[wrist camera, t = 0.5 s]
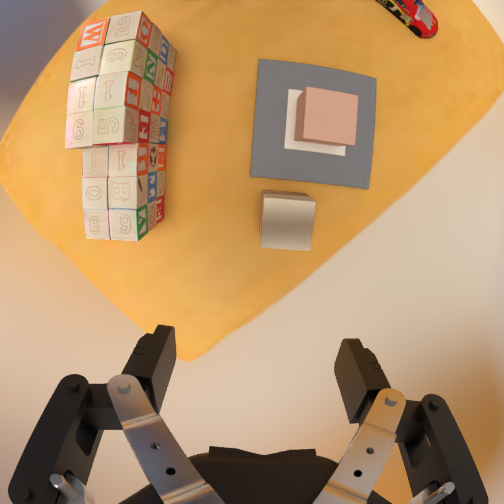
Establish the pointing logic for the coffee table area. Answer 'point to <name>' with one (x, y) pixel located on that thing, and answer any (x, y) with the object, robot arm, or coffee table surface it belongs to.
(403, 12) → the race car
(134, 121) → the stack of blocks
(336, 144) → the block
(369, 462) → the robot arm
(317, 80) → the board
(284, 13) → the coffee table surface
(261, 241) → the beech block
